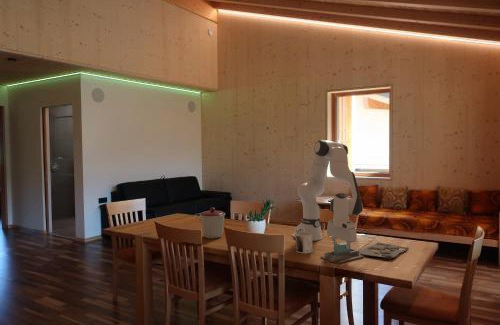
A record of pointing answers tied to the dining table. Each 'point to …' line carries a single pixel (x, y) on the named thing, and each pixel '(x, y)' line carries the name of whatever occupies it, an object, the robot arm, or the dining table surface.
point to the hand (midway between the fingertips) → (340, 246)
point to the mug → (304, 242)
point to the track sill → (342, 256)
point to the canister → (212, 223)
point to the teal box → (340, 248)
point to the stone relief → (382, 250)
